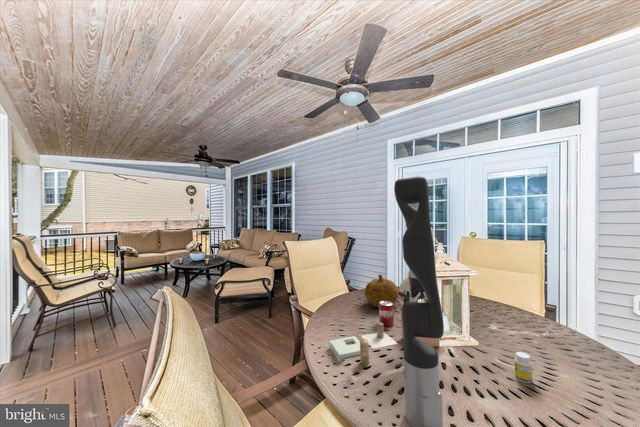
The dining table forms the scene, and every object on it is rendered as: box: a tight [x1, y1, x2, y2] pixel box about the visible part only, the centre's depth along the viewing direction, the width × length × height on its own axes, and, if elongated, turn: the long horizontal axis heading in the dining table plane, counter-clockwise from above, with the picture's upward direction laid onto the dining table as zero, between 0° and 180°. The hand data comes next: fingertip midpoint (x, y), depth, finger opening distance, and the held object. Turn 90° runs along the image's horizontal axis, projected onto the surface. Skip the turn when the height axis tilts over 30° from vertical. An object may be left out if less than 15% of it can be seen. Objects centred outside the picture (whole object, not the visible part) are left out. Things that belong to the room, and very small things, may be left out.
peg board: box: [329, 335, 360, 363], centre depth 111 cm, size 12×12×3 cm
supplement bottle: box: [514, 351, 533, 384], centre depth 90 cm, size 5×5×8 cm
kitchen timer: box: [398, 274, 411, 296], centre depth 184 cm, size 14×14×15 cm
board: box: [360, 321, 398, 350], centre depth 117 cm, size 12×12×8 cm
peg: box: [359, 338, 370, 366], centre depth 100 cm, size 3×3×10 cm
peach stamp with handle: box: [400, 321, 440, 348], centre depth 114 cm, size 11×11×15 cm
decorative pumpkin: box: [364, 274, 399, 308], centre depth 163 cm, size 20×21×20 cm
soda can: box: [378, 301, 395, 328], centre depth 133 cm, size 7×7×12 cm
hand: (419, 312), depth 114 cm, fingers open, 8 cm apart
